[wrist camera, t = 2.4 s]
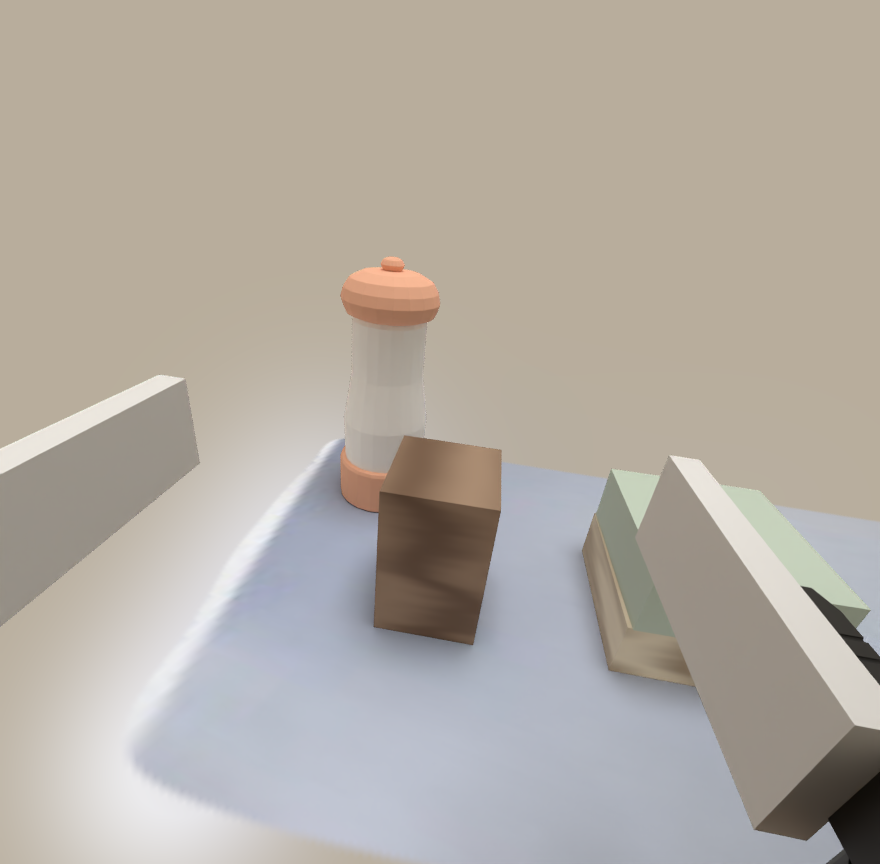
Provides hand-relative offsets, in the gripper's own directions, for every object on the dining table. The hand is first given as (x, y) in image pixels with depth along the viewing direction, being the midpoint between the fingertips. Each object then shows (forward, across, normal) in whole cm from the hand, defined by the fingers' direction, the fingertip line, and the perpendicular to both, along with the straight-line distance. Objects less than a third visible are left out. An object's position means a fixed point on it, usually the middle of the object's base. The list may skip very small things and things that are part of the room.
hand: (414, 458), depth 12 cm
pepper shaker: (+21, -5, -17) cm, 27 cm away
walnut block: (+10, +1, -16) cm, 19 cm away
